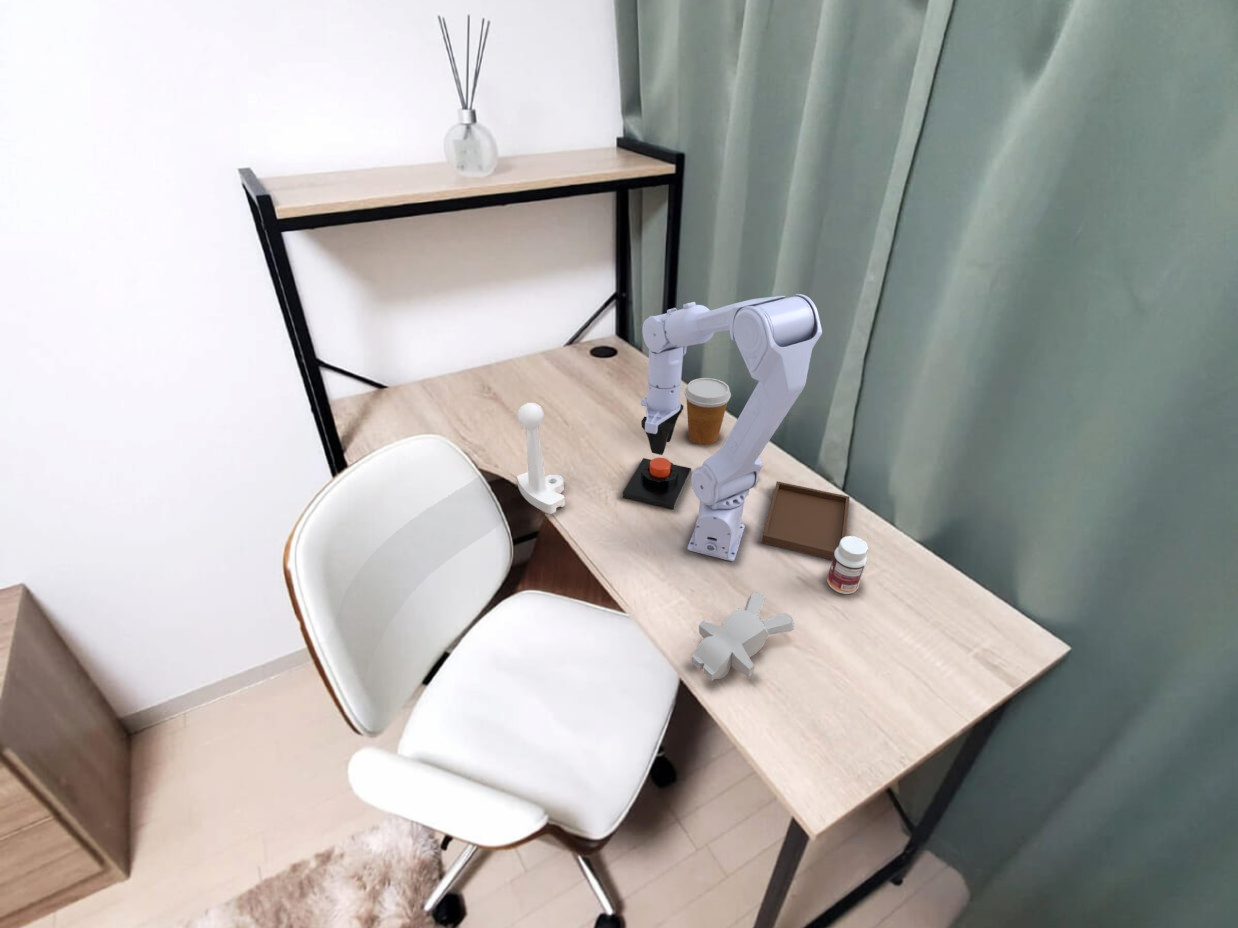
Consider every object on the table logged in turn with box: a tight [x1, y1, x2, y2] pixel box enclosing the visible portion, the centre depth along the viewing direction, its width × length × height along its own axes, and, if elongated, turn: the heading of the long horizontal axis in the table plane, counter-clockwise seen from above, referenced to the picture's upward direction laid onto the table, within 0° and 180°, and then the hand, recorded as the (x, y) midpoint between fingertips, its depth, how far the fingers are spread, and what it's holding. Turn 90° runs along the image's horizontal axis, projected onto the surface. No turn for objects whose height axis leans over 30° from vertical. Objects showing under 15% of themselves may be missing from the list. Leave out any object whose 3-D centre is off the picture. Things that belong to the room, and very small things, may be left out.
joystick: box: [516, 402, 566, 515], centre depth 108 cm, size 11×8×20 cm
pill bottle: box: [826, 535, 869, 595], centre depth 93 cm, size 5×5×8 cm
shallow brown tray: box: [760, 481, 851, 561], centre depth 107 cm, size 16×13×2 cm
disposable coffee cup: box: [683, 377, 732, 446], centre depth 127 cm, size 10×10×12 cm
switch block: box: [622, 457, 692, 511], centre depth 115 cm, size 12×10×3 cm
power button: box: [649, 457, 672, 478], centre depth 115 cm, size 4×4×2 cm
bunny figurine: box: [690, 591, 796, 682], centre depth 84 cm, size 10×5×15 cm
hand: (661, 446), depth 112 cm, fingers open, 4 cm apart
